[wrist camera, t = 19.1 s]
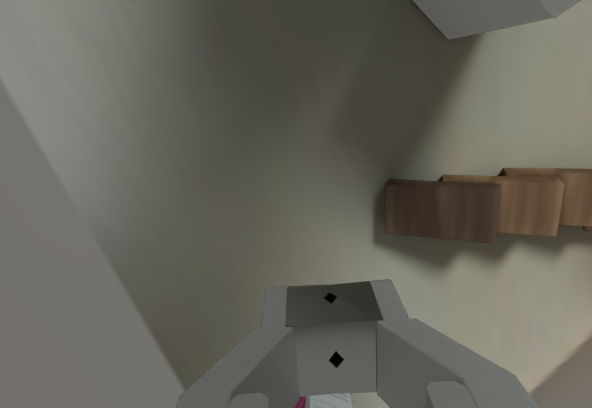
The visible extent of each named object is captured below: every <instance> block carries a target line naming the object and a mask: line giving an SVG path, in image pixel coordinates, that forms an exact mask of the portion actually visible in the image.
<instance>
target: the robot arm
mask: <svg viewBox="0 0 592 408" xmlns="http://www.w3.org/2000/svg"><path fill="white" fill-rule="evenodd" d="M363 392H377V394H378V395H379V396H380V398H381V399H382V400H383V401H384V402H385V403H386V404H387V405H388V406H389V407H390V408H538V406H537V405H536V404H535V402H534V401H533V399H532V398H531V397H530V395H529V394H528V392H527V391H526V390H525V388H524V387H523V385H522V384H521V383H520V381H519V380H518V379H517V377H516V376H515V375H514V374H512V373H510V372H508V371H507V370H505V369H503V368H501V367H500V366H498V365H496V364H494V363H493V362H491V361H489V360H487V359H486V358H484V357H482V356H480V355H479V354H477V353H475V352H473V351H472V350H470V349H468V348H466V347H465V346H463V345H461V344H459V343H458V342H456V341H454V340H452V339H451V338H449V337H447V336H445V335H444V334H442V333H440V332H438V331H437V330H435V329H433V328H431V327H430V326H428V325H426V324H424V323H423V322H421V321H419V320H417V319H416V318H415V319H409V317H408V315H407V313H406V311H405V308H404V306H403V304H402V302H401V300H400V298H399V296H398V294H397V291H396V289H395V287H394V285H393V283H392V281H391V280H390V279H384V280H375V281H365V282H354V283H344V284H333V285H328V284H327V285H306V286H288V287H286V286H282V287H271V288H267V289H266V290H265V296H264V304H263V312H262V320H261V328H260V329H254V330H253V331H252V332H251V333H250V334H248V335H247V336H246V337H245V338H244V339H243V340H242V341H241V342H240V343H238V344H237V345H236V346H235V347H234V348H233V349H232V350H231V351H229V352H228V353H227V354H226V355H225V356H224V357H223V358H222V359H220V360H219V361H218V362H217V363H216V364H215V365H214V366H213V367H212V368H210V369H209V370H208V371H207V372H206V373H205V374H204V375H203V376H201V377H200V378H199V379H198V380H197V381H196V382H195V383H194V384H192V385H191V386H190V387H189V388H188V389H187V390H186V391H185V392H184V393H182V394H181V395H180V396H179V400H178V402H177V405H176V408H295V406H296V405H297V403H298V401H299V400H300V397H304V396H315V395H325V394H336V393H363Z"/></svg>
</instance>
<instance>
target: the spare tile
mask: <svg viewBox="0 0 592 408" xmlns="http://www.w3.org/2000/svg"><path fill="white" fill-rule="evenodd" d="M501 192H502V190H501V186H500V184H490V183H466V182H443V181H419V180H396V179H389V180H388V182H387V183H386V185H385V233H391V234H401V235H412V236H422V237H433V238H443V239H453V240H464V241H474V242H484V243H495V244H496V238H497V229H498V220H499V211H500V201H501Z"/></svg>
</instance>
